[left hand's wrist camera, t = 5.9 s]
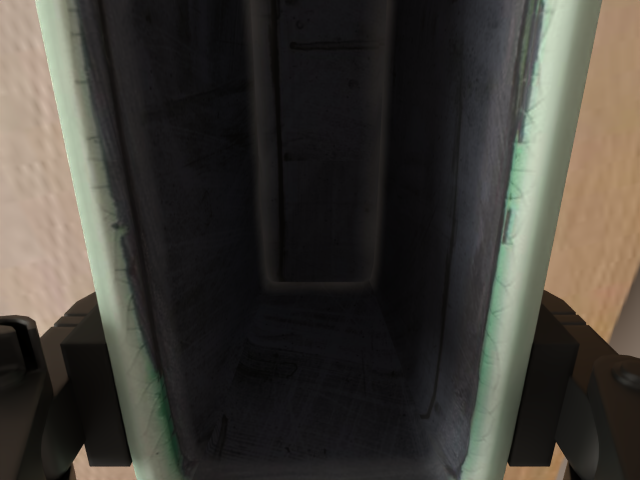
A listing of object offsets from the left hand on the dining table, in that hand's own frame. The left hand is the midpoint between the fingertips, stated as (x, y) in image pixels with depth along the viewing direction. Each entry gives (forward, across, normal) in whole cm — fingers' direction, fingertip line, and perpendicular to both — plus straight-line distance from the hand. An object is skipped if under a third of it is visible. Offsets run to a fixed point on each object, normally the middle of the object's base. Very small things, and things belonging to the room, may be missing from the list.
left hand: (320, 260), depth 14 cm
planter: (+1, 0, -11) cm, 11 cm away
